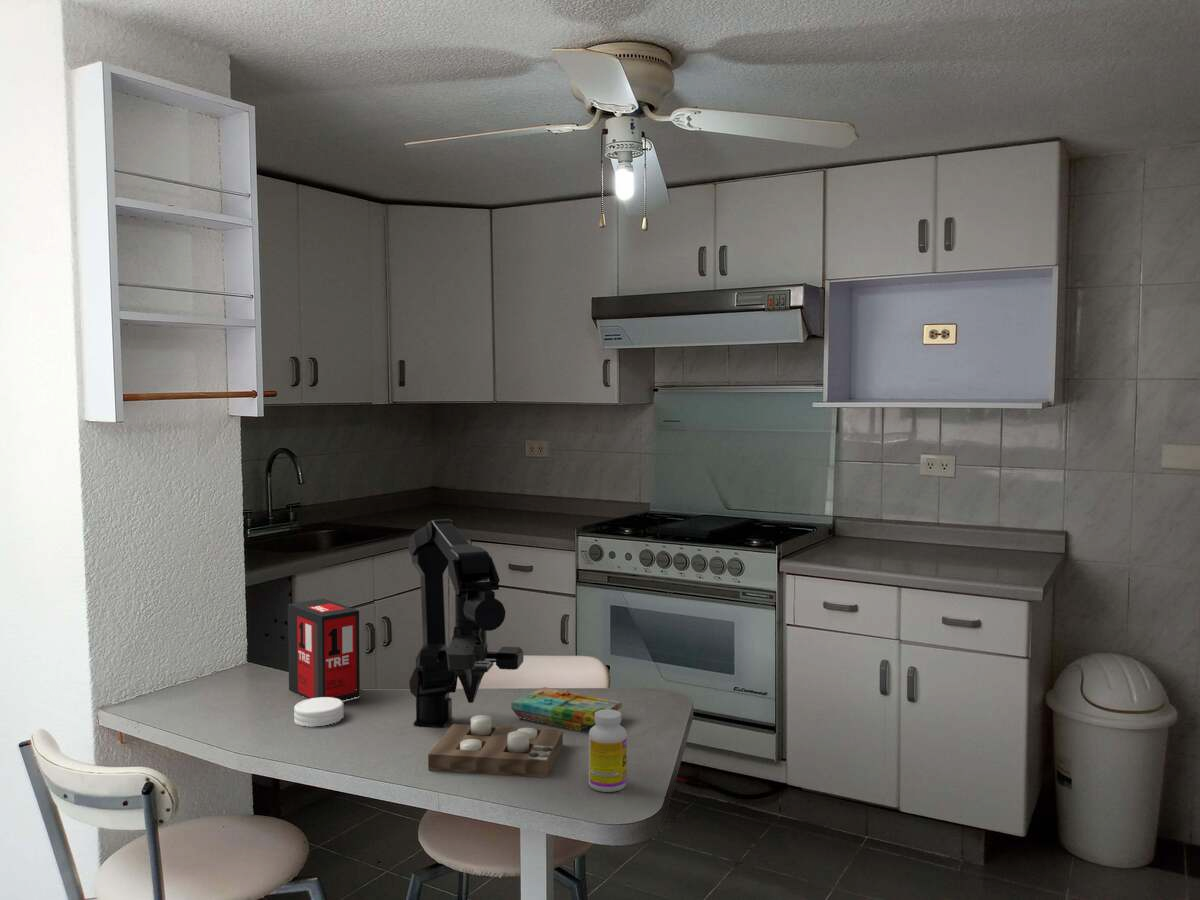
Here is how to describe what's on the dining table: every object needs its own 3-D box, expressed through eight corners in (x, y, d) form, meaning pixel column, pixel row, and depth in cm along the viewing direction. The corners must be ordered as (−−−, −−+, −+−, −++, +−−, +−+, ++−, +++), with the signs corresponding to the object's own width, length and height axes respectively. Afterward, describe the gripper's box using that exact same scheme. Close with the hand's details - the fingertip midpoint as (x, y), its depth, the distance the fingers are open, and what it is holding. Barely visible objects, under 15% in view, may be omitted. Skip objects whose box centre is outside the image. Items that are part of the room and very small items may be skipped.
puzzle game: (541, 683, 210) (621, 698, 200) (541, 704, 210) (621, 720, 200) (511, 698, 199) (593, 714, 190) (511, 720, 200) (593, 737, 190)
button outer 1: (457, 760, 175) (457, 746, 174) (463, 752, 179) (463, 738, 178) (478, 761, 174) (478, 747, 174) (484, 753, 178) (484, 739, 178)
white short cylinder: (297, 731, 192) (296, 714, 192) (291, 716, 201) (291, 699, 201) (347, 724, 196) (347, 707, 196) (339, 709, 205) (339, 694, 205)
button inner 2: (514, 748, 181) (514, 734, 181) (518, 740, 185) (518, 727, 185) (534, 749, 180) (534, 735, 180) (538, 741, 184) (539, 728, 184)
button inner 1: (468, 735, 182) (468, 721, 182) (473, 728, 186) (473, 714, 186) (488, 736, 181) (488, 722, 181) (493, 729, 185) (493, 715, 185)
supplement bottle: (628, 793, 163) (629, 719, 162) (589, 794, 162) (590, 720, 161) (624, 777, 169) (624, 706, 169) (587, 778, 169) (587, 707, 168)
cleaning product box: (288, 690, 218) (287, 604, 217) (324, 682, 224) (323, 598, 223) (322, 707, 206) (322, 616, 205) (359, 698, 212) (359, 610, 211)
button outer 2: (505, 752, 173) (505, 738, 173) (510, 744, 177) (510, 730, 177) (526, 753, 173) (526, 739, 173) (531, 745, 177) (531, 731, 177)
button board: (428, 770, 172) (428, 752, 172) (453, 738, 188) (453, 722, 188) (547, 777, 169) (547, 759, 169) (562, 744, 185) (562, 728, 185)
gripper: (407, 627, 168) (408, 714, 169) (510, 631, 166) (510, 719, 166) (427, 613, 179) (427, 694, 180) (524, 616, 177) (524, 699, 177)
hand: (471, 702), depth 176 cm, fingers closed
